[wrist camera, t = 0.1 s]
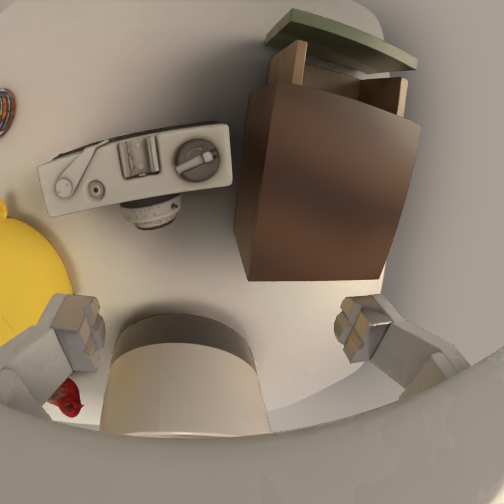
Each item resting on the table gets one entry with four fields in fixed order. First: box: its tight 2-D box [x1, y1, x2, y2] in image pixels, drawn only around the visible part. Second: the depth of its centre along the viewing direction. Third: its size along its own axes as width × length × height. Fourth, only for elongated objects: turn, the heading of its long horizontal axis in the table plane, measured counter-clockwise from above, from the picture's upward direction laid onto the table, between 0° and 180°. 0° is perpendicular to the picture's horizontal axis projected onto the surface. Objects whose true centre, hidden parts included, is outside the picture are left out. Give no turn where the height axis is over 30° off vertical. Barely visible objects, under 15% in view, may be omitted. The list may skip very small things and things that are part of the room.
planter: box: [99, 314, 272, 438], centre depth 29 cm, size 19×19×18 cm
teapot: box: [0, 199, 73, 347], centre depth 21 cm, size 25×18×14 cm
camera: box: [37, 121, 233, 230], centre depth 20 cm, size 14×8×10 cm, turn 93°
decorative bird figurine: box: [47, 371, 84, 418], centre depth 31 cm, size 3×18×10 cm, turn 103°
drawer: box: [265, 8, 417, 117], centre depth 20 cm, size 15×11×8 cm
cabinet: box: [233, 80, 422, 281], centre depth 23 cm, size 15×13×10 cm
